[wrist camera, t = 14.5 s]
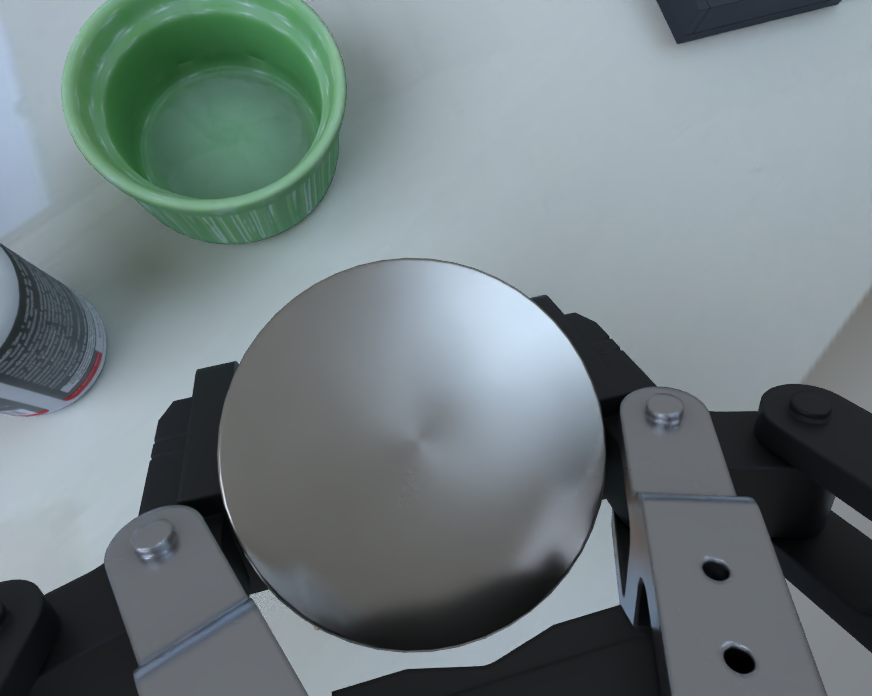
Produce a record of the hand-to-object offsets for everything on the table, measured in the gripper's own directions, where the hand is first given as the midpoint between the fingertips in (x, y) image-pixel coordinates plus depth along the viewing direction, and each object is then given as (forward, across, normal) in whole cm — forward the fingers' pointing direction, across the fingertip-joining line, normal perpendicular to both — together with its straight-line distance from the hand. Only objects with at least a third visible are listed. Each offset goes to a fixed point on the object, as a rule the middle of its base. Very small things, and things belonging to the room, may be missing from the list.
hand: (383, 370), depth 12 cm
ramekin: (+16, +3, -1) cm, 16 cm away
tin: (+2, 0, +5) cm, 6 cm away
